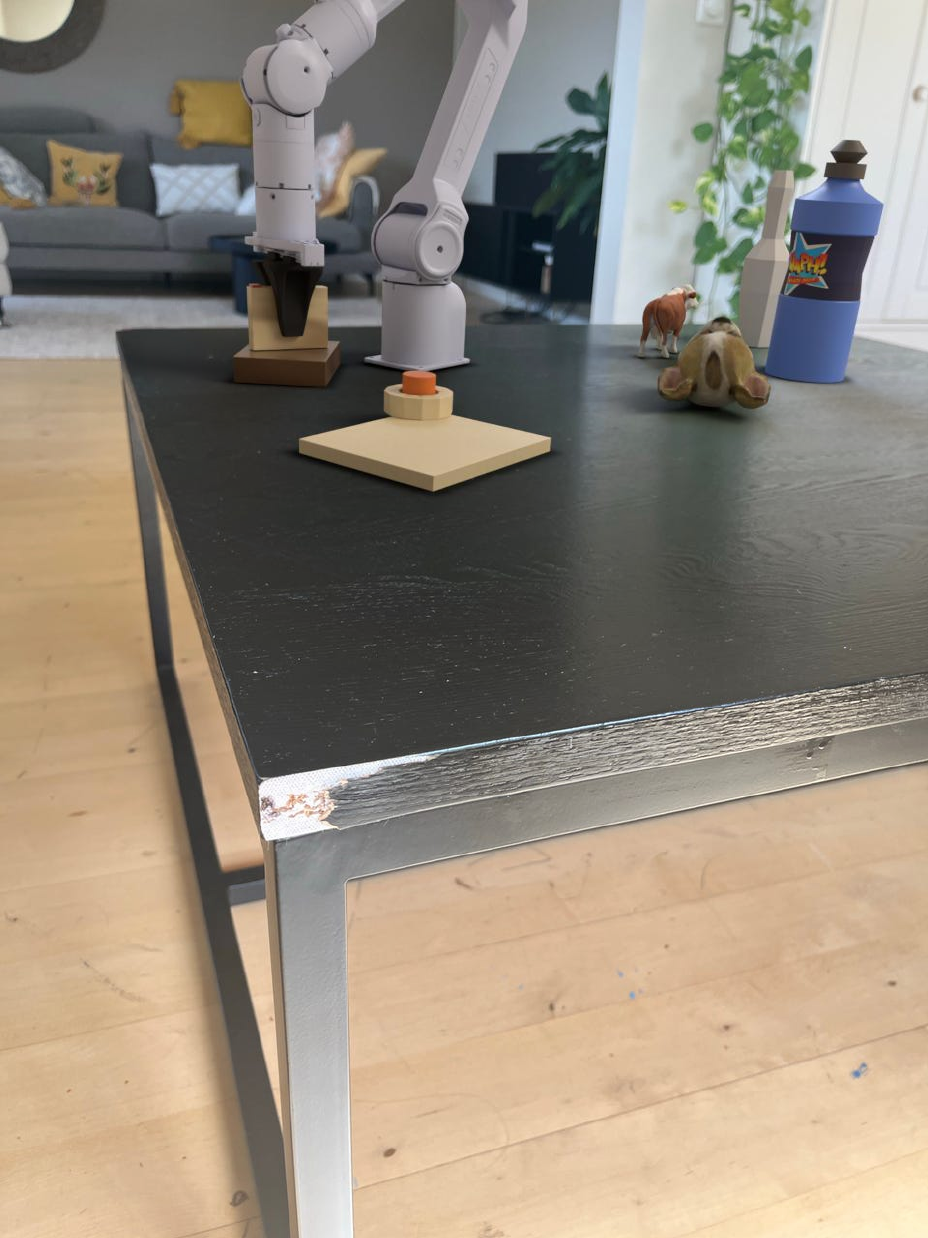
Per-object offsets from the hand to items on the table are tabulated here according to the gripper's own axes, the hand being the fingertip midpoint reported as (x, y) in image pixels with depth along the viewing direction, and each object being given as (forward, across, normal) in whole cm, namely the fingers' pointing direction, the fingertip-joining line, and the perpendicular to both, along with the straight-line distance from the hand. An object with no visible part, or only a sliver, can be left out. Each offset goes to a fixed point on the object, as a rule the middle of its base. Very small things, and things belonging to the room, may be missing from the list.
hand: (288, 334), depth 97 cm
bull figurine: (+4, 0, +50) cm, 50 cm away
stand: (+4, 0, 0) cm, 4 cm away
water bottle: (+4, +16, +58) cm, 61 cm away
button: (+1, +24, +3) cm, 24 cm away
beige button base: (+4, +30, 0) cm, 31 cm away
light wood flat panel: (+1, 0, 0) cm, 1 cm away
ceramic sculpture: (+4, +25, +35) cm, 43 cm away
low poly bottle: (+4, -2, +69) cm, 69 cm away
